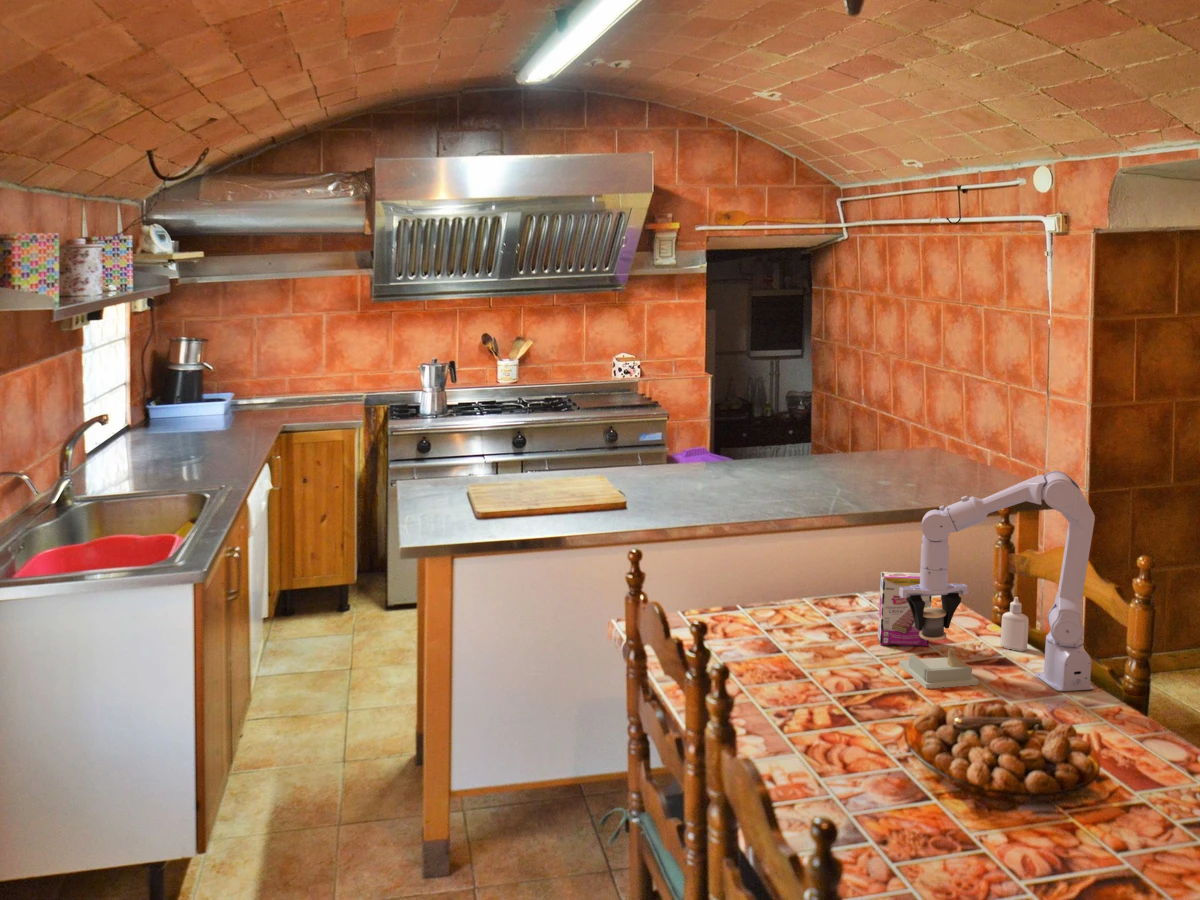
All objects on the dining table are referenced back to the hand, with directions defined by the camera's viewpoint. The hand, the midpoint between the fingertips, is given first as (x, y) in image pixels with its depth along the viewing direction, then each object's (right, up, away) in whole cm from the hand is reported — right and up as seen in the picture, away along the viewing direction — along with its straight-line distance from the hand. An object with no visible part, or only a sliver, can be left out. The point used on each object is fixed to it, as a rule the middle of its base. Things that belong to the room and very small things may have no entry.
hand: (932, 627), depth 242 cm
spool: (0, -2, +1) cm, 2 cm away
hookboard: (+1, -10, -2) cm, 10 cm away
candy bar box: (-1, -7, +18) cm, 19 cm away
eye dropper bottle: (+23, -7, +14) cm, 27 cm away
